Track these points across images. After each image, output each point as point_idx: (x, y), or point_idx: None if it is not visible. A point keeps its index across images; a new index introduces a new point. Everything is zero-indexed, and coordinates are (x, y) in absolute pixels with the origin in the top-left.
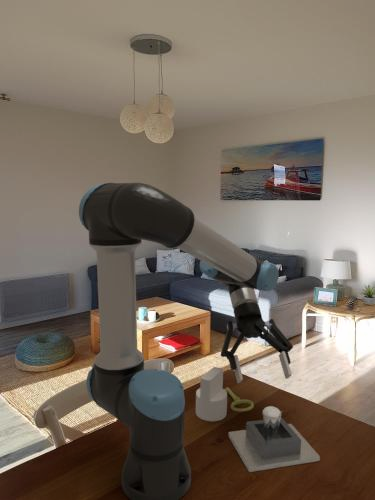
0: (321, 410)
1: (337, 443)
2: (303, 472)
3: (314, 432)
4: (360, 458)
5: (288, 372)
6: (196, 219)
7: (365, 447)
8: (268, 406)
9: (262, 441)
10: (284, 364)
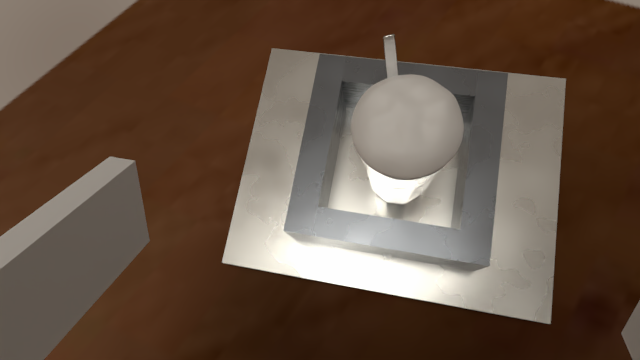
0: None
1: (142, 112)
2: (367, 30)
3: (163, 198)
4: (142, 27)
5: (119, 174)
6: None
7: (77, 64)
8: (409, 153)
9: (492, 97)
10: (56, 267)
